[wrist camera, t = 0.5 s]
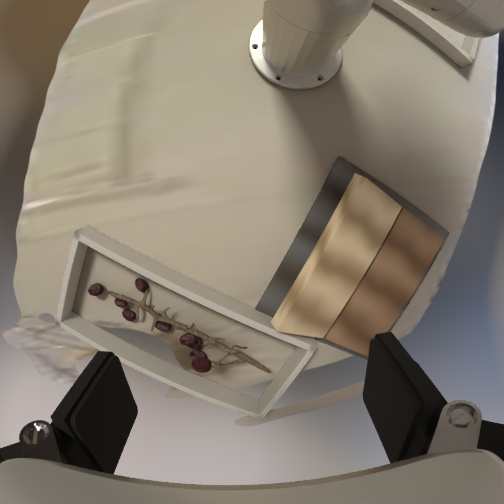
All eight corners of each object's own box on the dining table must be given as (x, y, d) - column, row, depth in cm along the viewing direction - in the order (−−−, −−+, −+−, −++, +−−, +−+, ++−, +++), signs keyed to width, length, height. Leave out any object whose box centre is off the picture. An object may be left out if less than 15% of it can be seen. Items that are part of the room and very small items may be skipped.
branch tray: (88, 225, 41) (75, 231, 37) (312, 333, 46) (317, 347, 42) (66, 313, 45) (55, 323, 41) (261, 404, 50) (261, 419, 46)
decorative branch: (69, 304, 38) (269, 390, 34) (102, 259, 44) (288, 328, 40) (92, 338, 46) (257, 409, 42) (117, 299, 52) (273, 359, 48)
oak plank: (354, 173, 35) (365, 177, 33) (392, 202, 39) (402, 206, 38) (270, 322, 40) (276, 331, 38) (316, 330, 45) (322, 338, 43)
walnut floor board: (338, 156, 38) (344, 156, 36) (447, 232, 41) (456, 235, 39) (253, 311, 44) (253, 318, 42) (368, 359, 47) (372, 367, 45)
